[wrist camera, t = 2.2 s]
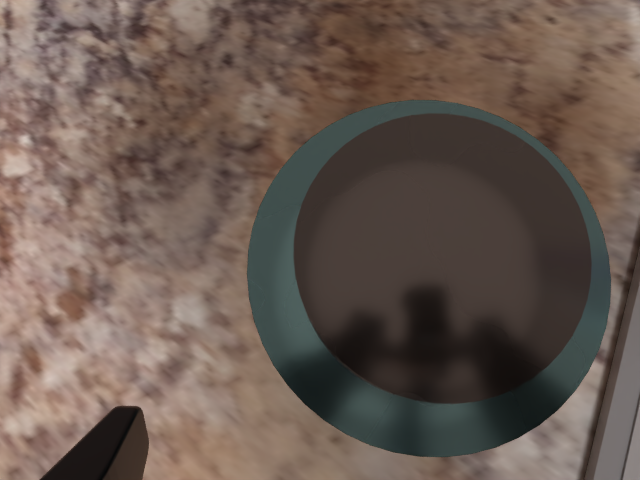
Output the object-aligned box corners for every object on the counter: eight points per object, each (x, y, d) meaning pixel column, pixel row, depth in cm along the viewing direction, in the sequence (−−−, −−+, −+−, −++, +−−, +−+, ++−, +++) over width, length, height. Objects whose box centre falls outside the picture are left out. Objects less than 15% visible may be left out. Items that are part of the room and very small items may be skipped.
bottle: (416, 430, 19) (595, 538, 6) (274, 377, 19) (171, 377, 7) (460, 287, 20) (688, 132, 7) (324, 240, 20) (317, 18, 8)
